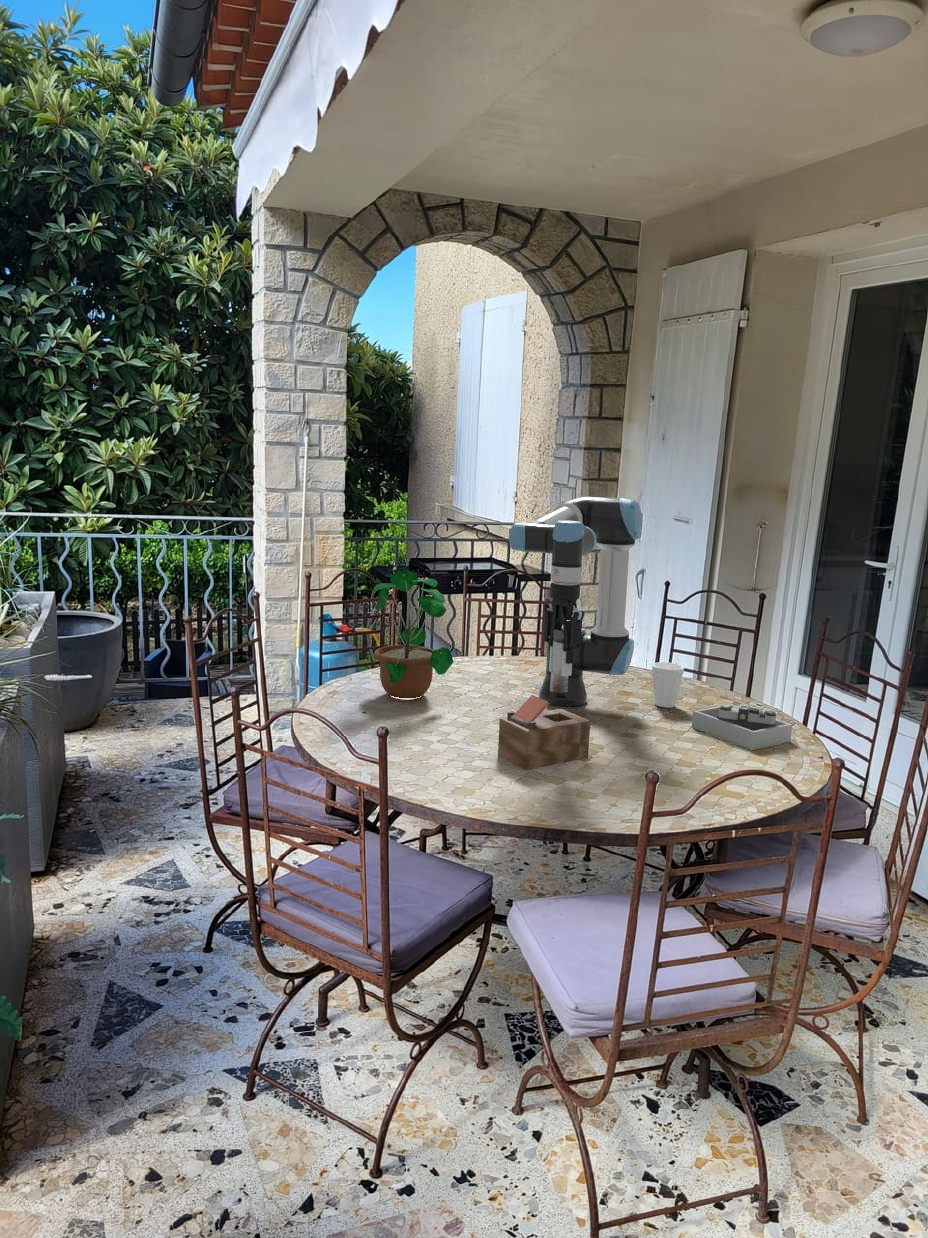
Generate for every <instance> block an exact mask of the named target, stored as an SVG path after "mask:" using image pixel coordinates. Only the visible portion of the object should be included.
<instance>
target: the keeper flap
mask: <svg viewBox="0 0 928 1238" xmlns="http://www.w3.org/2000/svg"><path fill="white" fill-rule="evenodd" d="M549 705H551V704H550V703H549V702H548V701H546V700H543V699H541V698H539V696H536V695H533V694H531V695H530V696H529V697H528V698H527V700H526V701H525V702H524V703H523V704H522V705H521V706H520V707H519V708H518V710H516V712H515V714H514V715H513V716H511V717H510V719H511V720H513V721H515V722H517V723H519V724H522V725H524V726H526V727H528V724H529V722H532V721H534V720H535V719H536V718H537V717H538V716H539V715H540V714H541V713H542V712H543V711H544V710H545V709H546V708H547V707H548V706H549Z"/></svg>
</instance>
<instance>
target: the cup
mask: <svg viewBox="0 0 928 1238" xmlns="http://www.w3.org/2000/svg"><path fill="white" fill-rule="evenodd" d="M651 668H652V669H651V670H652V671H651V672H652V679H653V693H654V694H653V695H654V705H655V706H657V707H661V708H674V707H675V706H676V703H677V699H678V695H679V691H680V686H681V682H682V678H683V675H684V673H685V672H684V671H685V666H684V665H682V664H679V663H674V662H668V661H667V662H665V661H663V662H662V661H659V662H654V663H652V664H651Z"/></svg>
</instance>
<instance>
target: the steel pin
mask: <svg viewBox="0 0 928 1238" xmlns="http://www.w3.org/2000/svg"><path fill="white" fill-rule="evenodd" d="M569 646H570V645H569ZM563 649H565V643H564V630H563V627H562V628H556V629H554V633H553V650H552V667H551V684H550V691H551V692H555V693H566V692H567V689H568V676H561V669H562V653H563Z"/></svg>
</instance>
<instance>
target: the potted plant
mask: <svg viewBox="0 0 928 1238" xmlns="http://www.w3.org/2000/svg"><path fill="white" fill-rule="evenodd" d="M419 582H420V583H422V586H421V587H420V590H421V595H419V596H418V598H416V599H417V601H418V603H419V607H417V606H412V609H418V611H417V613H416V616H415V618H414V620H413V621H412V623H411V613H410V610H411V609H410V600H409V599H410V598H409V594H408V593H409V591H410V590H411V589H412V588H413V587H414V586H416V585H418V584H419ZM424 584H426V585H429V586H431V587H433V588H430V589H426V588H424V586H425V585H424ZM438 585H439V584H438V581H437V580H436V579H434V578H426V579H425V578H424V579H419V577H418V574H417V573H416V572H415V571H414V570H413V571H412V570H400V571H396V572H393V574H392V575H391V576H390V583H388V582H387V583H386V582H381V583H379V584H376V586H374V587H373V590H372V592H371V593H372V594H375V593H376V592H378V591H379V594H378V596H377V597H378V598H377V601H376V604H375V606H374V609H375V610H380V611H381V610H383V609H384V608H385V607H386V605H388V608H389V612H390V616H391V618H392V622H393V624H394V627H395V629H396V632H397V633H398V636H399V638H400V640H401V642H402V644H396V645H395V644H394V645H393V644H392V645H387V646H386V645H385V646H381V647H379V648H377V649H376V650H375V651H374V652H373V657H374V658H375V659H377V661H378V662H379V679H380V683H381V686H382V688H383V690H384V691H385V692H386V694H388V695H389V696H390V695H391V696H394V697H399V698H416V697H420V696H421V697H422V696H424V695H425V694H426V693H427V691H429V689H430V687H431V685H432V684H431V683H432V681H433V673H434V672H433V671H435V672H436V673H437V675H444V674H446V673H447V672H448V670H449V669H450V668H451V666H452V665H453V663H454V659H453V656H452V653H451V650H450V649H449V648H448V647H444V646H443V647H440V648H437V649H435V648H432V647H428V646H422V645H421V644H423V643H424V642H426V638H427V637H426V636H427V631H426V630H425V628H424V626H425V623H426V619H427V616H430V617H434V618H441V617H443V616H444V615H445V613H446V612H447V611H448V610H447V608H446V606H445V605H444V604H445V602H446V601H445V596H444V594H443V593H441V592H440V591H439V590H438V589H435V588H436V587H438ZM391 588H395V589H397V590H398V591H401V592H406V597H407V607H408V625H407V626H406V623H405V621H404V618H403V615H402V612H401V610H400V607H399V605H398V602H397V601H396V598H395V597H394V596H395V595H393V592H392V591H391ZM424 592H426V593H428V595H423V594H424ZM390 594H391V596H392V598H393V600H394V602H395V605H396V607H397V610H398V612H399V615H400V618H401V620H402V624H403V626H404V630H402V632H401V633H400V631H399V629H398V627H397V624H396V622H395V619H394V617H393V613H392V609H391V606H390V604H389V603H388V598H389V595H390ZM430 595H431V596H430ZM423 612H425V613H426V615H425V617H424V621H423V623H422V626H421V627H418V626H419V623H420V621H421V617H422V615H423ZM405 642H406V643H405Z"/></svg>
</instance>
